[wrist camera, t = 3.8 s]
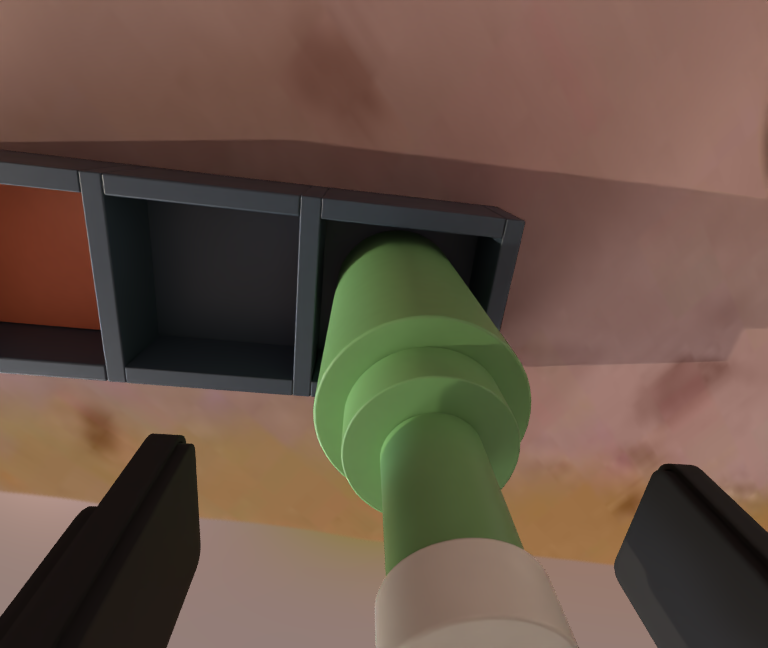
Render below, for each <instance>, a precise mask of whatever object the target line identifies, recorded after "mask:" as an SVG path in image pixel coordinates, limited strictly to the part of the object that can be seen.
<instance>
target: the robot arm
mask: <svg viewBox="0 0 768 648" xmlns="http://www.w3.org/2000/svg"><path fill="white" fill-rule="evenodd" d="M199 556H200V529H199V510H198V492H197V475H196V457H195V447H194V445H193V444H186V440H185V438H184V436H182V435H167V434H150V435H149V436H148V437H147V438H146V439H145V441H144V442H143V443H142V445H141V446H140V448H139V449H138V450H137V452H136V453H135V455H134V456H133V457H132V459H131V460H130V462H129V463H128V464H127V466H126V467H125V469H124V470H123V471H122V473H121V474H120V476H119V477H118V478H117V480H116V481H115V483H114V484H113V485H112V487H111V488H110V490H109V491H108V492H107V494H106V495H105V496H104V498H103V499H102V501H101V502H100V503H99V505H98V506H97V507H96V506H93V507H92V506H89V507H87V508H85V509H84V510H82V511H81V512H80V513H79V514H78V515H77V517H76V518H75V519H74V520H73V521H72V523H71V524H70V525H69V527H68V528H67V529H66V531H65V532H64V533H63V535H62V536H61V537H60V539H59V540H58V541H57V543H56V544H55V545H54V547H53V548H52V549H51V551H50V552H49V553H48V555H47V556H46V557H45V558H44V560H43V561H42V563H41V564H40V565H39V566H38V568H37V569H36V571H35V572H34V573H33V574H32V576H31V577H30V579H29V580H28V581H27V582H26V584H25V585H24V587H23V588H22V589H21V590H20V592H19V593H18V594H17V596H16V597H15V598H14V600H13V601H12V602H11V604H10V605H9V606H8V608H7V609H6V610H5V612H4V613H3V614H2V615H1V617H0V648H166V647H167V645H168V642H169V639H170V636H171V634H172V631H173V629H174V626H175V624H176V621H177V618H178V616H179V613H180V610H181V608H182V605H183V602H184V599H185V597H186V595H187V592H188V589H189V586H190V584H191V581H192V579H193V576H194V573H195V571H196V568H197V565H198V561H199ZM614 569H615V575H616V578H617V580H618V581H619V584H620V585H621V587H622V589H623V590H624V592H625V594H626V595H627V597H628V599H629V600H630V602H631V604H632V605H633V607H634V609H635V610H636V612H637V614H638V615H639V617H640V619H641V620H642V622H643V624H644V625H645V627H646V629H647V630H648V632H649V634H650V636H651V637H652V639H653V640H654V642H655V644H656V645H657V647H658V648H768V532H767V531H765V530H764V529H763V528H762V527H761V526H760V525H759V524H758V523H757V522H756V521H755V520H754V519H753V518H752V517H751V516H750V515H749V514H748V513H746V512H745V511H744V510H743V509H742V508H741V507H740V506H739V505H738V504H737V503H736V502H735V501H734V500H733V499H732V498H731V497H730V496H729V495H727V494H726V493H725V492H724V491H723V490H722V489H721V488H720V487H719V486H718V485H717V484H716V483H715V482H714V481H713V480H712V479H711V478H710V477H708V476H707V475H706V474H705V473H704V472H703V471H702V470H701V469H699V468H698V467H696V466H693V465H682V464H663V465H662V466H661V467H660V468H659V469H658V471H655V472H654V473H653V474H652V476H651V478H650V481H649V483H648V485H647V488H646V490H645V492H644V495H643V497H642V499H641V502H640V504H639V506H638V508H637V511H636V513H635V515H634V518H633V520H632V522H631V525H630V527H629V529H628V532H627V534H626V536H625V539H624V541H623V543H622V546H621V548H620V550H619V553H618V555H617V557H616V560H615V563H614Z"/></svg>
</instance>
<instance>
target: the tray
mask: <svg viewBox="0 0 768 648" xmlns="http://www.w3.org/2000/svg"><path fill="white" fill-rule="evenodd" d="M524 225H525V221H524V220H522V219H520V218H518V217H516V216H514V215H512V214H510V213H508V212H506V211H504V210H502V209H500V208H498V207H494V206H485V205H477V204H468V203H459V202H451V201H442V200H433V199H425V198H416V197H407V196H398V195H390V194H381V193H372V192H364V191H355V190H346V189H338V188H329V187H320V186H312V185H303V184H294V183H285V182H277V181H268V180H259V179H251V178H242V177H233V176H225V175H216V174H207V173H199V172H190V171H181V170H172V169H164V168H155V167H146V166H138V165H129V164H120V163H112V162H103V161H94V160H86V159H77V158H68V157H59V156H51V155H42V154H33V153H25V152H16V151H7V150H0V373H9V374H22V375H35V376H49V377H62V378H75V379H88V380H102V381H107V380H108V381H112V382H127V383H136V384H149V385H163V386H176V387H189V388H203V389H216V390H229V391H242V392H256V393H269V394H282V395H292V394H293V395H297V396H310V395H311V396H312V397H315V394H316V388H317V383H318V378H319V373H320V368H321V362H322V357H323V352H324V347H325V342H326V336H327V331H328V326H329V321H330V316H331V310H332V305H333V300H334V295H335V290H336V284H337V279H338V275H339V271H340V268H341V266H342V264H343V262H344V260H345V258H346V257H347V255H348V254H349V253H350V252H351V250H352V249H353V248H354V247H355V246H356V245H358V244H359V243H360V242H362V241H363V240H364V239H366V238H368V237H370V236H372V235H375V234H378V233H381V232H385V231H393V230H400V231H408V232H413V233H416V234H419V235H421V236H423V237H425V238H427V239H429V240H430V241H432V242H433V243H434V244H435V245H436V246H438V247H439V248H440V250H441V251H442V252H443V253H444V255H445V256H446V257H447V259H448V260H449V262H450V263H451V264H452V266H453V267H454V269H455V270H456V271H457V273H458V274H459V276H460V277H461V278H462V280H463V281H464V283H465V284H466V285H467V287H468V288H469V290H470V291H471V292H472V294H473V295H474V297H475V298H476V300H477V301H478V302H479V304H480V305H481V307H482V308H483V309H484V311H485V312H486V314H487V315H488V316H489V318H490V319H491V321H492V322H493V323H494V325H495V326H496V328H497V329H498V330H499V332H500V328H501V323H502V319H503V315H504V311H505V306H506V302H507V298H508V294H509V289H510V285H511V281H512V277H513V272H514V268H515V264H516V260H517V255H518V251H519V247H520V243H521V238H522V234H523V230H524Z"/></svg>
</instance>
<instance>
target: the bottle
mask: <svg viewBox="0 0 768 648" xmlns="http://www.w3.org/2000/svg"><path fill="white" fill-rule="evenodd" d="M530 412H531V393H530V386H529V382H528V378H527V375H526V373H525V370H524V368H523V366H522V364H521V362H520V361H519V359H518V358H517V356H516V354H515V353H514V352H513V350H512V349H511V347H510V346H509V344H508V343H507V342H506V340H505V339H504V337H503V336H502V335H501V333H500V332H499V330H498V329H497V328H496V326H495V325H494V323H493V322H492V321H491V319H490V318H489V316H488V315H487V314H486V312H485V311H484V309H483V308H482V307H481V305H480V304H479V302H478V301H477V300H476V298H475V297H474V295H473V294H472V292H471V291H470V290H469V288H468V287H467V285H466V284H465V283H464V281H463V280H462V278H461V277H460V276H459V274H458V273H457V271H456V270H455V269H454V267H453V266H452V264H451V263H450V262H449V260H448V259H447V257H446V256H445V255H444V253H443V252H442V251H441V250H440V248H439V247H438V246H436V245H435V244H434V243H433V242H432V241H430V240H429V239H427V238H425V237H423V236H421V235H419V234H416V233H413V232H408V231H400V230H393V231H385V232H381V233H378V234H375V235H372V236H370V237H368V238H366V239H364V240H363V241H362V242H360V243H359V244H358V245H356V246H355V247H354V248H353V249H352V250H351V252H350V253H349V254H348V255H347V257H346V258H345V260H344V262H343V264H342V266H341V268H340V271H339V275H338V279H337V284H336V290H335V295H334V300H333V305H332V310H331V316H330V321H329V326H328V331H327V336H326V342H325V347H324V352H323V357H322V362H321V368H320V373H319V378H318V383H317V388H316V394H315V400H314V407H313V415H314V425H315V431H316V434H317V437H318V440H319V443H320V445H321V447H322V449H323V451H324V453H325V455H326V456H327V458H328V459H329V460H330V462H331V463H332V465H333V466H334V467H335V468H336V469H337V470H338V471H339V472H340V473H341V474H342V475H344V476H345V477H346V478H347V480H348V482H349V484H350V486H351V487H352V488H353V490H354V491H355V493H356V494H357V495H358V496H359V497H360V498H361V499H362V500H363V501H365V502H366V503H367V504H368V505H370V506H371V507H373V508H374V509H376V510H378V511H380V512H382V513H383V529H384V549H385V569H386V577H385V579H384V580H383V582H382V583H381V586H380V588H379V590H378V593H377V596H376V600H375V636H376V637H375V639H376V640H375V641H376V648H579V647H578V645H577V642H576V640H575V638H574V635H573V633H572V631H571V629H570V626H569V624H568V621H567V619H566V617H565V614H564V612H563V609H562V607H561V605H560V602H559V600H558V598H557V595H556V593H555V590H554V588H553V586H552V583H551V581H550V579H549V576H548V574H547V573H546V571H545V569H544V568H543V566H542V565H541V564H540V563H539V562H538V561H537V560H536V559H535V558H534V557H533V556H532V555H531V554H529V553H528V552H526V551H525V550H524V548H523V546H522V543H521V541H520V538H519V536H518V533H517V530H516V528H515V525H514V523H513V520H512V518H511V515H510V513H509V510H508V507H507V505H506V502H505V500H504V497H503V495H502V492H501V489H502V488H503V487H504V485H505V484H506V483H507V481H508V480H509V479H510V477H511V475H512V473H513V471H514V469H515V466H516V464H517V461H518V457H519V452H520V442H521V440H522V439H523V437H524V434H525V431H526V429H527V426H528V422H529V417H530Z"/></svg>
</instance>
